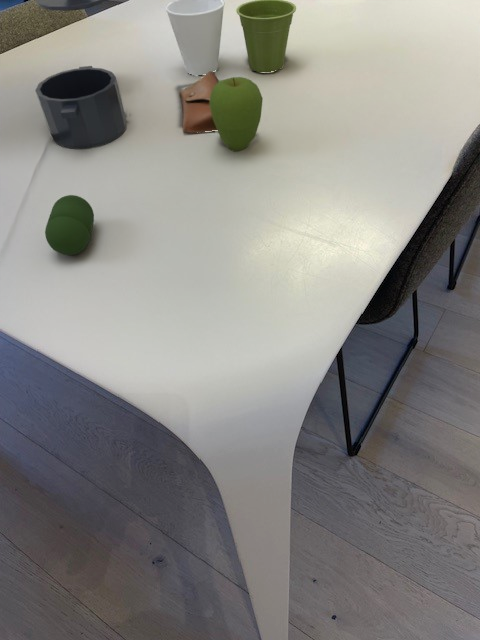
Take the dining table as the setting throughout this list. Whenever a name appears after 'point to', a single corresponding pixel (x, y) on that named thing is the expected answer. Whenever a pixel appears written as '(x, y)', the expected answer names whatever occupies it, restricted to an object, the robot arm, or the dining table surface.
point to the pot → (82, 107)
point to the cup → (197, 32)
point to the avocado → (69, 225)
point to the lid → (68, 4)
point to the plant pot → (266, 32)
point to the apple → (236, 111)
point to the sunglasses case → (198, 105)
